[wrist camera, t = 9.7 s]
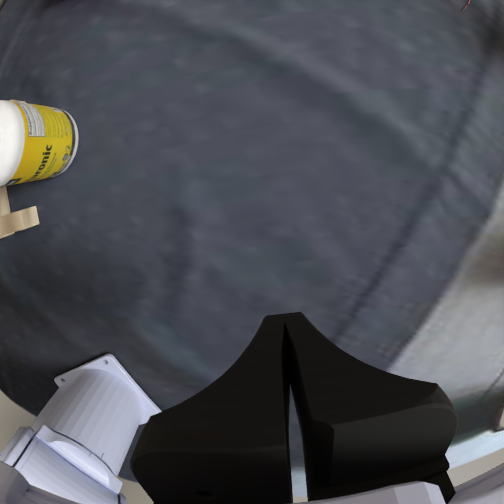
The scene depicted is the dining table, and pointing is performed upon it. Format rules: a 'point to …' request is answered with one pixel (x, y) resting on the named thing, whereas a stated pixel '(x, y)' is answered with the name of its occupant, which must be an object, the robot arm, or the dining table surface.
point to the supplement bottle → (34, 142)
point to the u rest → (15, 214)
